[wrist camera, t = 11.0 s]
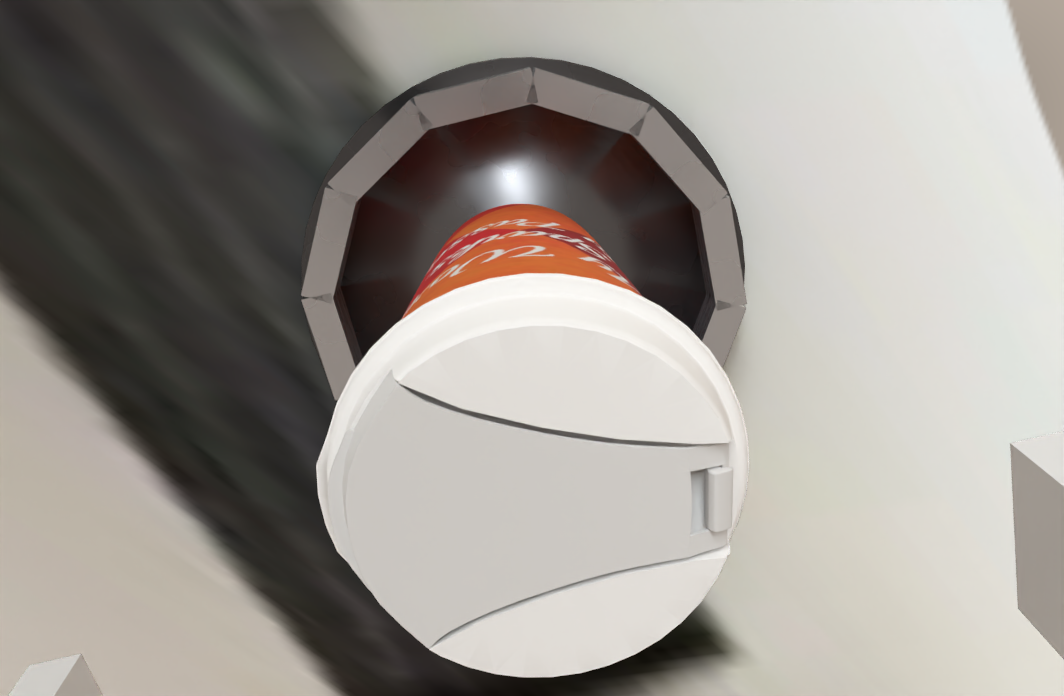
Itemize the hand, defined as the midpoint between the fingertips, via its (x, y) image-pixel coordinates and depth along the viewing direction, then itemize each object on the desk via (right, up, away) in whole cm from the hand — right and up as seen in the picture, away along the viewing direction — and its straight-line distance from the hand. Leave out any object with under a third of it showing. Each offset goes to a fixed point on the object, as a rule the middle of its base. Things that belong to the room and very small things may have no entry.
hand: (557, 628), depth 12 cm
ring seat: (-1, +6, +18) cm, 19 cm away
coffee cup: (-1, +6, +18) cm, 19 cm away
